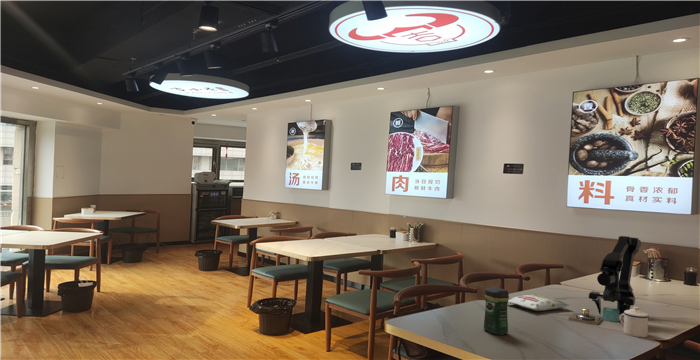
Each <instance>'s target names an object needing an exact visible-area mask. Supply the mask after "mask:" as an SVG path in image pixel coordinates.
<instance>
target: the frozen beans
mask: <svg viewBox="0 0 700 360" xmlns="http://www.w3.org/2000/svg"><path fill="white" fill-rule="evenodd" d="M508 303H509V304H512V305H514V306H518V307H521V308H526V309H528V310H529V309H530V310H532V311H536V312H541V311H550V310H557V309H563V308H567V307H568V306H570V304H569V303H567V302H565V301H562V300H559V299H555V298H552V297H551V298H550V297H547V296H542V295H537V294H528V295H519V296H513V297H509V300H508Z"/></svg>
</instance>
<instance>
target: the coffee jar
mask: <svg viewBox="0 0 700 360" xmlns="http://www.w3.org/2000/svg"><path fill="white" fill-rule="evenodd" d="M484 291H485V292H484V300H485V307H484V308H485V310H484V320H483V330H484V331H485V330H486V332H488V333H490V334H493V335H500V336H503V335H504V334H505V335H506V334H508V333H509V322H508V320H509V319H508V303H509V302H508V300H509V298H510V296H509V295H510V294H509V291H508V290H507V289H504V288H500V287H498V286H492V285H491V286H486V288H485V290H484Z"/></svg>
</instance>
